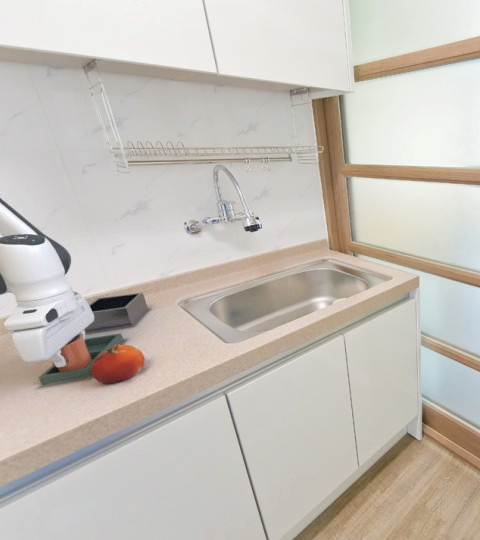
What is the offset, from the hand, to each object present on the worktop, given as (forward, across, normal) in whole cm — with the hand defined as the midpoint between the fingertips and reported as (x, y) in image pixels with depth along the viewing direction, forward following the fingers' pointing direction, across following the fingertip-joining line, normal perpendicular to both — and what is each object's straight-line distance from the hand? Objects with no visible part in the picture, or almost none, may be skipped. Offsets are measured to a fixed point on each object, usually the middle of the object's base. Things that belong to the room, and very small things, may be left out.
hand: (72, 356), depth 80 cm
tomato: (+4, +7, +12) cm, 14 cm away
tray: (+4, -4, 0) cm, 6 cm away
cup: (+4, 0, 0) cm, 4 cm away
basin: (+4, -28, -3) cm, 29 cm away
